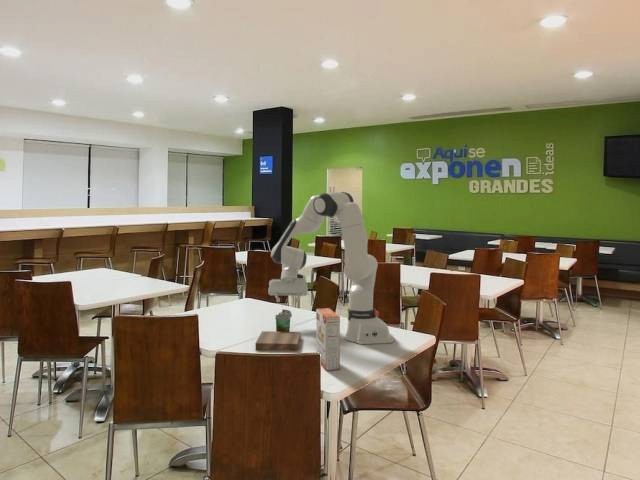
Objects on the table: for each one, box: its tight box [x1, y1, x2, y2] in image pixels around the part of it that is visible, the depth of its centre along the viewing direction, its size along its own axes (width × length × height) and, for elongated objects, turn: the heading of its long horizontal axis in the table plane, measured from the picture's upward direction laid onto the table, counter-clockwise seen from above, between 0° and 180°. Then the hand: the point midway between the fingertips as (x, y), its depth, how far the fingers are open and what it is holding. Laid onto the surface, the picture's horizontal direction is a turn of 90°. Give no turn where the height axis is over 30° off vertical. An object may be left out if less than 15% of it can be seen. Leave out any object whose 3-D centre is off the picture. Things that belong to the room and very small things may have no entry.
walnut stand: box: [254, 330, 301, 352], centre depth 207 cm, size 18×18×3 cm
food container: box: [275, 308, 293, 332], centre depth 225 cm, size 12×6×10 cm, turn 168°
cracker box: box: [315, 307, 341, 372], centre depth 181 cm, size 14×6×21 cm, turn 15°
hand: (287, 301), depth 234 cm, fingers open, 8 cm apart
